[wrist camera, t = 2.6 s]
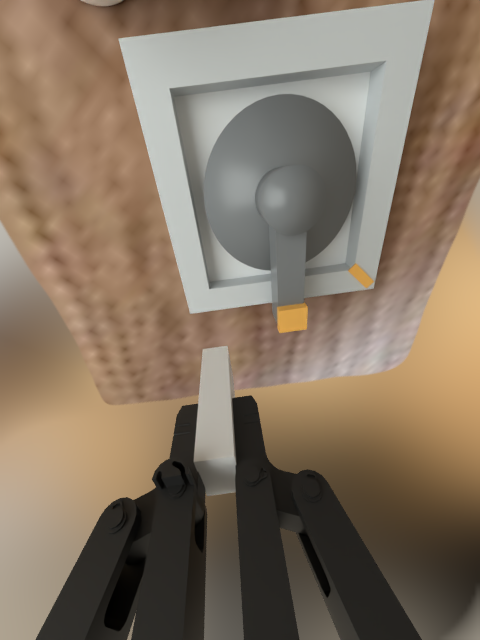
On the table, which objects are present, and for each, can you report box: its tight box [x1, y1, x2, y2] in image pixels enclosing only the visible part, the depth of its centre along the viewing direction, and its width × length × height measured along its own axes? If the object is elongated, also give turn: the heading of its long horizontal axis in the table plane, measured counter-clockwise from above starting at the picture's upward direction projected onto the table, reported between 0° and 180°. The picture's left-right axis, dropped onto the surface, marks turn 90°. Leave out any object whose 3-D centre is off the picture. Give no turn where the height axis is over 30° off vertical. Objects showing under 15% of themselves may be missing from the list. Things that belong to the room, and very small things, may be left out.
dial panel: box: [119, 0, 434, 314], centre depth 22 cm, size 20×20×4 cm
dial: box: [204, 94, 357, 333], centre depth 20 cm, size 18×13×6 cm
